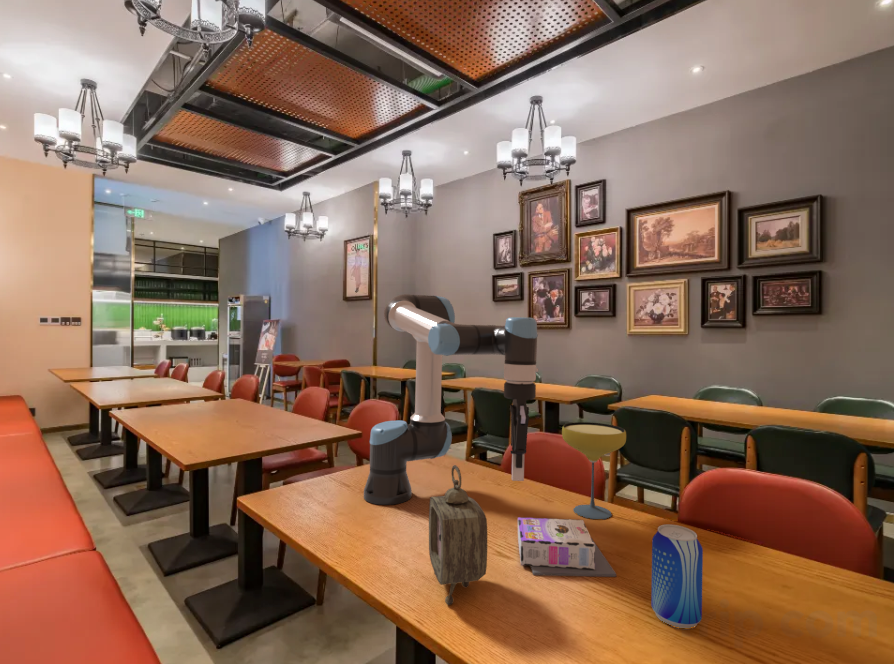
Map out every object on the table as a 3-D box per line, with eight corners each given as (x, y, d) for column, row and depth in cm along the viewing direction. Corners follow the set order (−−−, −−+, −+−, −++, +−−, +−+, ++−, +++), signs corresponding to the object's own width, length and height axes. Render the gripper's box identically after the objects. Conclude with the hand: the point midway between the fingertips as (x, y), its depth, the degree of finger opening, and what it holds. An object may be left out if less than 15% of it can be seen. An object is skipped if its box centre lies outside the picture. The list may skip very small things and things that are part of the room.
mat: (519, 534, 119) (519, 532, 119) (588, 535, 119) (588, 533, 119) (533, 575, 99) (533, 572, 99) (616, 576, 99) (616, 574, 99)
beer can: (642, 604, 89) (643, 522, 89) (683, 603, 90) (684, 521, 90) (667, 633, 81) (668, 542, 81) (712, 631, 81) (713, 541, 81)
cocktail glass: (634, 512, 136) (636, 428, 136) (609, 531, 122) (610, 437, 122) (578, 496, 148) (579, 419, 148) (549, 512, 135) (550, 427, 135)
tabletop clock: (428, 572, 100) (429, 457, 100) (467, 568, 102) (469, 456, 102) (442, 611, 86) (444, 478, 86) (488, 606, 88) (490, 476, 88)
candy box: (520, 566, 102) (595, 571, 100) (520, 540, 102) (596, 544, 100) (517, 539, 116) (584, 542, 114) (517, 515, 116) (584, 519, 114)
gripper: (541, 385, 103) (538, 489, 103) (530, 379, 116) (528, 471, 116) (507, 384, 103) (505, 488, 103) (501, 378, 116) (499, 470, 116)
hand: (517, 479), depth 110 cm, fingers closed
